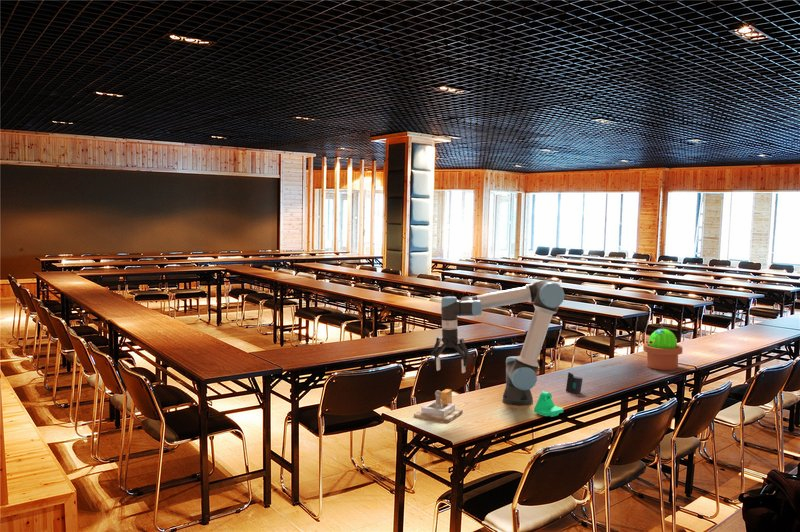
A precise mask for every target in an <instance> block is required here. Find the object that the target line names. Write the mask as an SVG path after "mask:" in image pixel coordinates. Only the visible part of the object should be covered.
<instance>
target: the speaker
mask: <svg viewBox="0 0 800 532" xmlns="http://www.w3.org/2000/svg"><path fill="white" fill-rule="evenodd" d="M582 386H583V377H580V376H577V375H576V376H575V375H574V374H573V373H571V372H569V371H568V373H567V379H566V386H565V387H566V388H565V391H566V392H567V391H568V392H567V393H568V394H570V393H571V394H572V393H575V394H581V392H582Z"/></svg>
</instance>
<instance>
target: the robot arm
mask: <svg viewBox="0 0 800 532" xmlns="http://www.w3.org/2000/svg"><path fill="white" fill-rule="evenodd" d="M564 300H565V291H564V289H563V288H562V286H561V285H560V284H559V283H557V282H555V281H551V280H548V279H545V280H538V281H536V282H531V283H526V284H525V286H522V287H514V288H510V289H505V290H498V291H493V292H489V293H484V294H483V293H482V294H477V295H472V296H468V295H467V296H463V297H462V298H461V299H460V300H458V298H457V296H451V295H449V296H443V297H442V298H441V304H440V305H441V306H440V307H441V309H440V310H441V328H442V329H441V336H442V337H440V336H438V337H436V339H435V344H434V346H433V349H432V351H431V353H430V355H431V357H434V364H435V365H436V371H437V372H438V371H440V370H441V356H440V354H441V353H442V352H443V351H444V350H445V348H451V349H454V350H456V352H457V353H458V354H459V356H460V358H462V359H461V374H464V373H466V367H467V366H468V359H470V358H471V354H470V352H469V350H468V348H467V345H466V344H465V343H466V342H465V339H464V338H459V337H458V335H459V333H458V317H462V316H463V317H472V316H473V317H476V316H481V315H482V313H483V310H486V309H492V308H499V307H503V306H510V305H514V304H519V303H520V304H521V303H526V302H528V303H530V304H532V303H533V307H534V312H533V315H532V317H531V318H532V319H531V321H530V324H529V327H528V330H527V332H526V333H527V334H526V336H525V340H524V342H523V345H522V348H521V351H520V355H517V356H516V355H515V356H513V355H512V356H508V357H506V359H505V389H504V392H503V394H502V402H503V401H504V402H503V403H506V404H507V403H508V404H507V405H514V406H528V405H530V404H532V403H533V401H534V399H533V394H532V391H531V390H532V388H534V387H535V385H536V384H537V380H538V376H537V373H538V370H539V366H540V365H539V363H538V360H539V357H540V354H541V350H542V347H543V345H544V342H545V338H546V336H547V333H548V330H549V327H550V324H551V321H552V318H553V315H555V314H557V313H558V310H559V308H560V305H562V303H563V302H564ZM441 342H442V344H441ZM458 343H459V344H458ZM440 344H441V346H440ZM439 346H440V347H439Z"/></svg>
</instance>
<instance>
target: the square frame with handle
mask: <svg viewBox="0 0 800 532" xmlns="http://www.w3.org/2000/svg"><path fill="white" fill-rule="evenodd" d="M452 392H453V391H452V389H450V388H445V389H444V390H442V391H441V409H437V408H436V400H432V401H429V402H428V403H426V404H425V405H423V406H421V408H420V410H421V414H427V415H433V416H439V417H446V416H447V415H449V414H450V413H452V412H453V411H455V409H456V404H455V403H453V396H452V395H453V393H452Z"/></svg>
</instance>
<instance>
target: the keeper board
mask: <svg viewBox="0 0 800 532" xmlns="http://www.w3.org/2000/svg"><path fill="white" fill-rule="evenodd" d="M441 392H442V391H441V390H439V389H438V390H436V391H435V392H434V395H435V401H436V408H437V409H441ZM461 413H462V414H464V413H463V409H456V408H455V411H453V412H452V413H450V414H449V415H447V416H446V417H439V416H433V415H427V414H421V409H420V410H418V411H416V412H415V413H413V418H418V419H423V420H429V419H430V421H435V420H436V422H440V421H443V422H442V423H446V422H447V424H448V423H450V422H452V421H453V420H454V418H455V419H456V418H458V417H459V416H460V415H462V414H461ZM457 416H458V417H457ZM451 420H452V421H451Z"/></svg>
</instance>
